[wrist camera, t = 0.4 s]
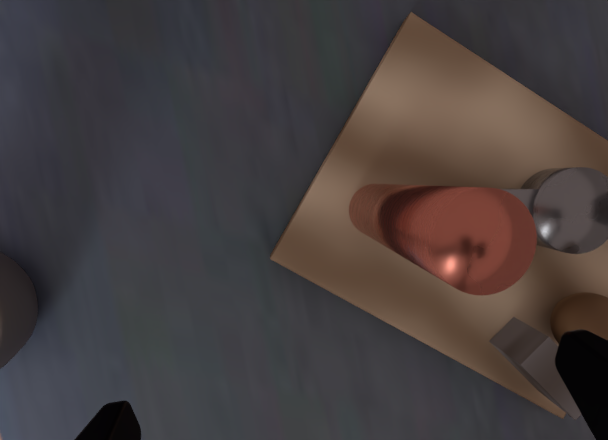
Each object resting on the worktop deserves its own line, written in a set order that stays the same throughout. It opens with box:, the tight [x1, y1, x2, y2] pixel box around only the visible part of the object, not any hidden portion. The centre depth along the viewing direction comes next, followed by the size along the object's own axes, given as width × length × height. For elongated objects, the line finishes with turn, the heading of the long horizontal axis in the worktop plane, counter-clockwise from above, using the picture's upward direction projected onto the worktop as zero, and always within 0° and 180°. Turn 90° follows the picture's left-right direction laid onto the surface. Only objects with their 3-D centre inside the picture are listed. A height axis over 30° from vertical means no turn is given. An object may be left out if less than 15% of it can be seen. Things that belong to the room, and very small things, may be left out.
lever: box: [349, 167, 608, 296], centre depth 17 cm, size 18×4×11 cm, turn 90°
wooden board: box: [270, 12, 608, 420], centre depth 22 cm, size 15×20×4 cm
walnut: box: [550, 292, 608, 344], centre depth 22 cm, size 4×4×4 cm
